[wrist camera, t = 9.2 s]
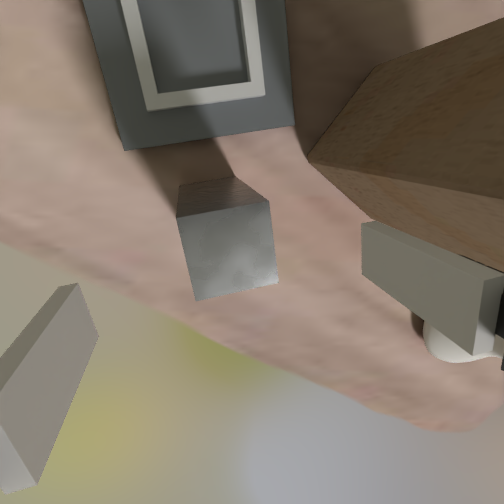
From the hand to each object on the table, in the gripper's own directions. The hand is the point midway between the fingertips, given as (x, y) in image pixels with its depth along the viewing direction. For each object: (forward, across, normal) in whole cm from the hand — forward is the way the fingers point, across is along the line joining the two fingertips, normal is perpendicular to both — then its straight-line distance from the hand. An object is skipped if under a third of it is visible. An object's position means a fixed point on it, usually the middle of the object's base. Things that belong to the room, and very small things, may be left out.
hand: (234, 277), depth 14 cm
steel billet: (+15, 0, 0) cm, 15 cm away
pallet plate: (+15, -2, -13) cm, 20 cm away
